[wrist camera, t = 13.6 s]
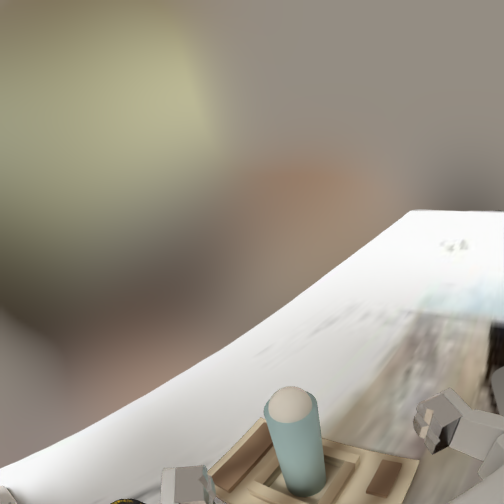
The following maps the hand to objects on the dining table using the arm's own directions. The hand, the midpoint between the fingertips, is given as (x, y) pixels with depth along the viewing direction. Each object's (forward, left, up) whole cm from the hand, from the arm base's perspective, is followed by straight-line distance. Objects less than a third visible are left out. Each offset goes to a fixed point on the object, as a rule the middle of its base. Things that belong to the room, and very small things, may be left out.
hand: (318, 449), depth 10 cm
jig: (-8, +9, -24) cm, 26 cm away
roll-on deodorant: (-8, +9, -22) cm, 25 cm away
